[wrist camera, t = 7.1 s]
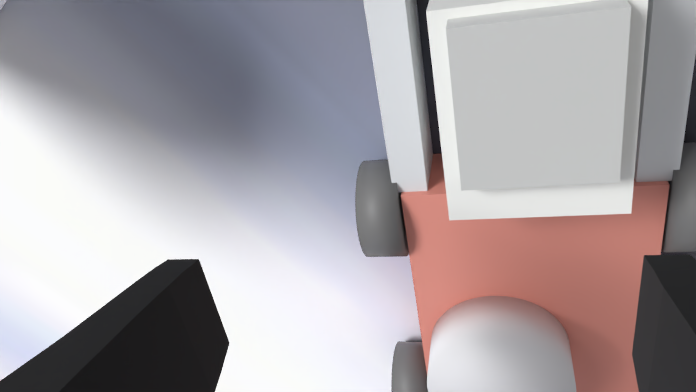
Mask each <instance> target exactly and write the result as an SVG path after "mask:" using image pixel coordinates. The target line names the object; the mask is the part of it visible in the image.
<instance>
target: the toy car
mask: <svg viewBox="0 0 696 392" xmlns="http://www.w3.org/2000/svg"><path fill="white" fill-rule="evenodd" d="M363 1H364V7H365V14H366V20H367V27H368V33H369V39H370V46H371V52H372V59H373V65H374V72H375V78H376V85H377V91H378V98H379V104H380V111H381V117H382V124H383V130H384V137H385V143H386V150H387V156H388V160H372V161H363V162H362V163H361V165H360V167H359V171H358V175H357V182H356V198H355V206H356V222H357V231H358V236H359V241H360V245H361V248H362V251H363V253H364V254H365V256H367V257H389V256H407V255H408V254H409V255H410V262H411V269H412V276H413V283H414V290H415V296H416V303H417V310H418V317H419V324H420V330H421V337H422V342H397V344H396V347H395V351H394V356H393V365H392V392H639V390H638V384H637V379H636V374H635V368H634V363H633V357H632V350H633V341H634V333H635V325H636V316H637V308H638V300H639V292H640V283H641V275H642V267H643V258H644V255H661V251H663V252H696V142H691V143H683V142H684V135H685V128H686V120H687V113H688V106H689V99H690V91H691V84H692V77H693V69H694V62H695V55H696V0H648V11H647V23H646V36H645V48H644V61H643V73H642V86H641V98H640V111H639V123H638V136H637V148H636V161H635V173H634V186H633V199H632V211H631V214H607V215H580V216H553V217H526V218H500V219H473V220H449V213H448V205H447V196H446V187H445V178H444V169H443V160H442V153H439V154H433V149H432V139H431V130H430V121H429V112H428V103H427V93H426V84H425V75H424V66H423V57H422V47H421V38H420V29H419V20H418V10H417V1H416V0H363Z"/></svg>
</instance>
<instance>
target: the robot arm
mask: <svg viewBox="0 0 696 392" xmlns="http://www.w3.org/2000/svg"><path fill="white" fill-rule="evenodd" d="M228 346H229V341H228V338H227V335H226V333H225V330H224V327H223V324H222V322H221V319H220V316H219V313H218V311H217V308H216V305H215V303H214V300H213V297H212V294H211V292H210V289H209V286H208V283H207V281H206V278H205V275H204V272H203V270H202V267H201V264H200V261H199V259H182V260H167V261H165V262H164V263H162V264H160V265H159V266H157V267H156V268H154V269H153V270H152V271H150V272H149V273H147V274H146V275H145V276H143V277H142V278H140V279H139V280H138V281H136V282H135V283H134V284H132V285H131V286H130V287H128V288H127V289H126V290H124V291H123V292H122V293H120V294H119V295H118V296H116V297H115V298H114V299H112V300H111V301H110V302H108V303H107V304H106V305H105V306H103V307H102V308H101V309H99V310H98V311H97V312H95V313H94V314H93V315H91V316H90V317H89V318H87V319H86V320H85V321H83V322H82V323H81V324H79V325H78V326H77V327H75V328H74V329H73V330H71V331H70V332H69V333H67V334H66V335H65V336H63V337H62V338H61V339H59V340H58V341H56V342H55V343H54V344H52V345H51V346H49V347H48V348H46V349H45V350H44V351H42V352H41V353H39V354H38V355H37V356H35V357H34V358H32V359H31V360H29V361H28V362H27V363H25V364H24V365H22V366H21V367H20V368H18V369H17V370H15V371H14V372H12V373H11V374H10V375H8V376H7V377H5V378H4V379H2V380H1V381H0V392H215V389H216V386H217V383H218V380H219V377H220V374H221V370H222V367H223V363H224V360H225V356H226V353H227V349H228ZM632 357H633V363H634V368H635V374H636V379H637V384H638V390H639V392H696V260H695V259H694V258H693V257H692V256H691V255H644V258H643V267H642V275H641V283H640V292H639V300H638V308H637V316H636V325H635V333H634V341H633V350H632Z"/></svg>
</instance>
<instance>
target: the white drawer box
mask: <svg viewBox="0 0 696 392" xmlns="http://www.w3.org/2000/svg"><path fill="white" fill-rule="evenodd" d="M647 11H648V0H429V3H428V6H427V10H426V16H427V25H428V34H429V43H430V52H431V61H432V70H433V79H434V88H435V97H436V106H437V115H438V124H439V133H440V142H441V151H442V160H443V169H444V178H445V187H446V196H447V205H448V213H449V220H473V219H500V218H526V217H553V216H580V215H607V214H631V211H632V199H633V186H634V173H635V161H636V148H637V136H638V123H639V111H640V98H641V86H642V73H643V61H644V48H645V36H646V23H647Z"/></svg>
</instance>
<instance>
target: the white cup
mask: <svg viewBox="0 0 696 392" xmlns="http://www.w3.org/2000/svg"><path fill="white" fill-rule="evenodd" d="M6 1H7V0H0V10H1V9H2V7H3V6H4V4H5V2H6Z"/></svg>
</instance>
